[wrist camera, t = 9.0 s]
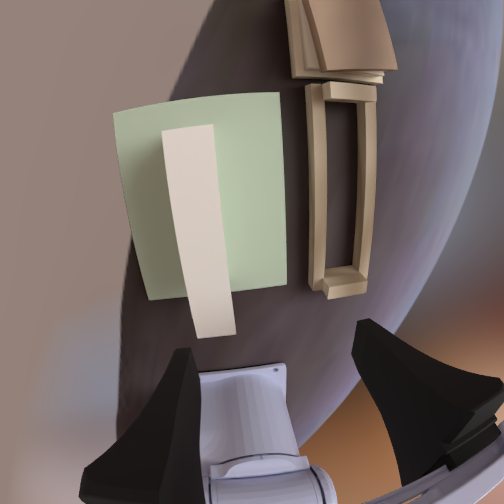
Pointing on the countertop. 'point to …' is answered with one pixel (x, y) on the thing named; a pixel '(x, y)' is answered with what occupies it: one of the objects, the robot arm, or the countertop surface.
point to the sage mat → (230, 187)
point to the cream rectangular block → (199, 227)
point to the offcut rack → (326, 68)
